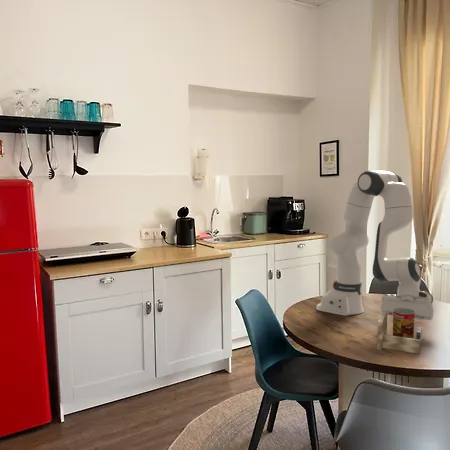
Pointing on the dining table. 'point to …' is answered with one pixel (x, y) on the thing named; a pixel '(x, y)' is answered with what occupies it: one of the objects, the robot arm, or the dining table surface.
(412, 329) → the canned food
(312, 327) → the dining table surface
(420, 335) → the bookend
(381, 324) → the shelf wall
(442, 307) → the dining table surface
